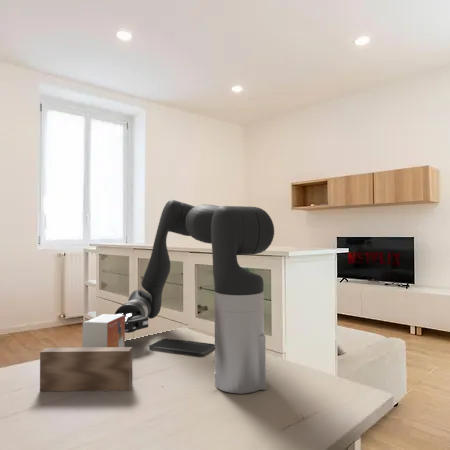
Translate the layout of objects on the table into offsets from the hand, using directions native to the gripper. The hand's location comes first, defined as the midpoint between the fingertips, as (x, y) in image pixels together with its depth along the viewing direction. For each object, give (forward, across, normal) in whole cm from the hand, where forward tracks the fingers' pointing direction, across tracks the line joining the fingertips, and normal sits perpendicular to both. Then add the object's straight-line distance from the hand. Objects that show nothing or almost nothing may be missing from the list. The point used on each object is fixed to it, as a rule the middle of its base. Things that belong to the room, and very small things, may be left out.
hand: (113, 331), depth 84 cm
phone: (-7, +15, +6) cm, 18 cm away
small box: (+6, 0, +6) cm, 9 cm away
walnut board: (+17, 0, +6) cm, 18 cm away
